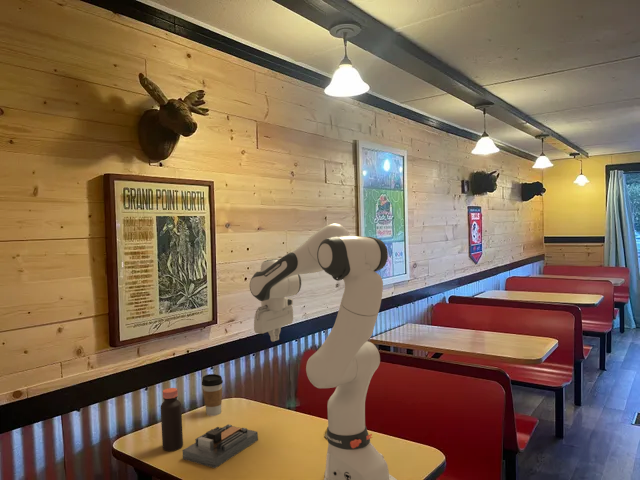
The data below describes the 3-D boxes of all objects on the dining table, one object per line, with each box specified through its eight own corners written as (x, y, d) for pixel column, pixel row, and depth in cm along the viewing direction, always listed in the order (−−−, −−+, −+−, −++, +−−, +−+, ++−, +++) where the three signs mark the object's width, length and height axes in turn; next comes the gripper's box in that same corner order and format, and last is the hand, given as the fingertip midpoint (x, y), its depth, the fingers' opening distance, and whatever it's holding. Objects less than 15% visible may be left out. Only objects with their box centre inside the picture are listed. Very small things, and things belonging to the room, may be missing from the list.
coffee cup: (214, 407, 205) (212, 372, 204) (228, 411, 200) (226, 375, 199) (198, 414, 198) (197, 377, 197) (213, 418, 193) (211, 381, 192)
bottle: (170, 441, 173) (168, 386, 173) (187, 443, 171) (184, 387, 170) (158, 450, 167) (155, 392, 166) (175, 452, 165) (172, 394, 164)
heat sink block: (227, 432, 179) (226, 415, 179) (257, 440, 172) (257, 421, 172) (182, 459, 160) (181, 439, 160) (215, 468, 153) (214, 447, 153)
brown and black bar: (232, 417, 174) (203, 434, 161) (241, 419, 172) (212, 436, 159) (233, 429, 174) (204, 446, 161) (242, 431, 172) (213, 448, 159)
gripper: (263, 308, 169) (264, 348, 169) (295, 299, 186) (296, 335, 187) (248, 307, 172) (250, 346, 172) (281, 298, 189) (283, 334, 190)
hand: (274, 340), depth 180 cm, fingers closed
